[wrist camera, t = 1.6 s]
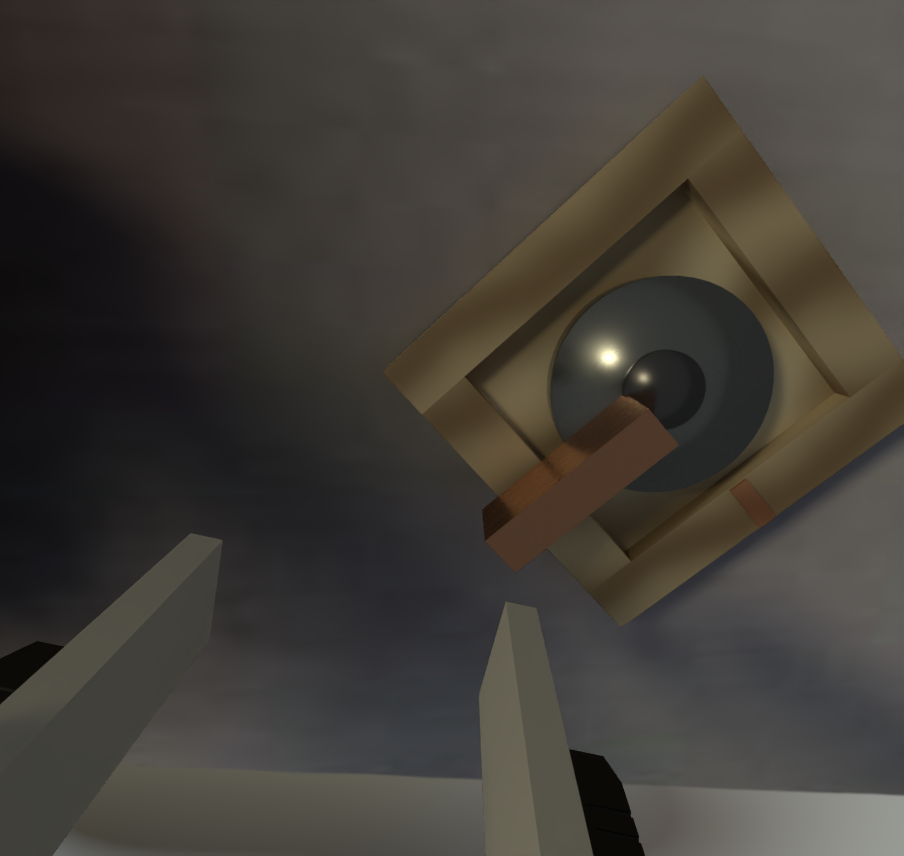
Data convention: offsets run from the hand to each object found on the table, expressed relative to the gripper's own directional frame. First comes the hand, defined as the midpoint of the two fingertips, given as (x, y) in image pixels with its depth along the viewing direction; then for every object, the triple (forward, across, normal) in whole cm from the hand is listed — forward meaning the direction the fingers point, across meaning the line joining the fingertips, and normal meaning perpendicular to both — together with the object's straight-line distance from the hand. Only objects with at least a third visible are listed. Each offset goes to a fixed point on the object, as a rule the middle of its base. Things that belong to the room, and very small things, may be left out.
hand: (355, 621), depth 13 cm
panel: (+19, +12, +6) cm, 23 cm away
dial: (+17, +10, +3) cm, 20 cm away
